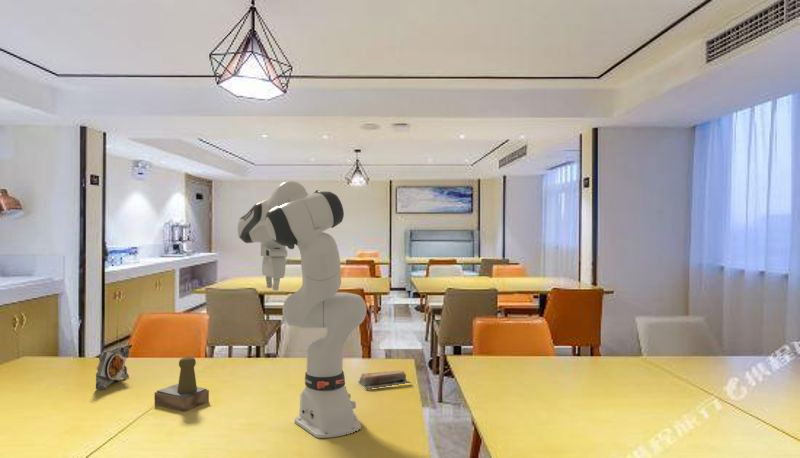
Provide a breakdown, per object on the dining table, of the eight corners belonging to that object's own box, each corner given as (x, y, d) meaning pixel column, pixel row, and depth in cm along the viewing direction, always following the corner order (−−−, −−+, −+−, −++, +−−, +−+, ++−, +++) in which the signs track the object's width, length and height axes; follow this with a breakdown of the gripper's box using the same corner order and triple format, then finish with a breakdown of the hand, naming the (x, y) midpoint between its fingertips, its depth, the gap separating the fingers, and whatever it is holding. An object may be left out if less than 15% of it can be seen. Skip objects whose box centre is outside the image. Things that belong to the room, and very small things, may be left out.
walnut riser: (179, 395, 176) (179, 382, 176) (208, 401, 169) (208, 388, 169) (154, 404, 167) (154, 391, 167) (184, 411, 160) (184, 397, 160)
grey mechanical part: (106, 390, 181) (106, 354, 181) (95, 390, 181) (95, 354, 181) (132, 377, 196) (132, 344, 195) (122, 377, 196) (122, 344, 196)
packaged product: (365, 378, 181) (357, 371, 191) (365, 392, 181) (357, 384, 191) (411, 373, 188) (402, 366, 197) (411, 386, 188) (402, 379, 197)
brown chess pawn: (199, 387, 170) (199, 355, 170) (193, 393, 164) (193, 360, 164) (181, 387, 170) (181, 355, 170) (174, 393, 164) (174, 360, 164)
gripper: (258, 250, 191) (257, 287, 191) (270, 251, 173) (270, 292, 173) (274, 250, 194) (274, 286, 194) (288, 251, 176) (288, 291, 176)
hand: (272, 289), depth 183 cm, fingers open, 8 cm apart
